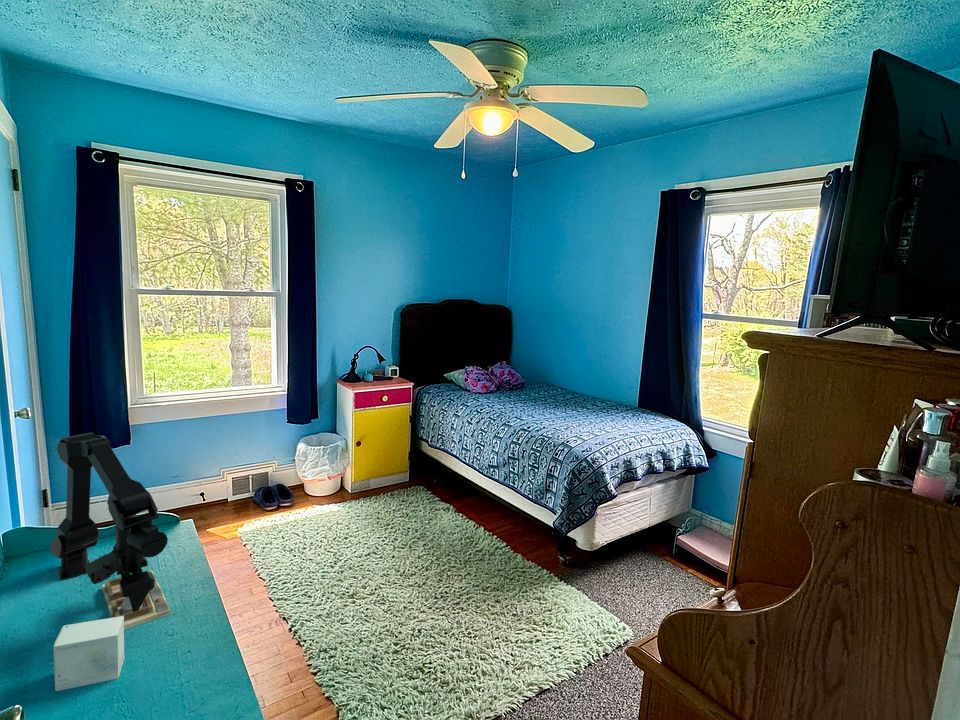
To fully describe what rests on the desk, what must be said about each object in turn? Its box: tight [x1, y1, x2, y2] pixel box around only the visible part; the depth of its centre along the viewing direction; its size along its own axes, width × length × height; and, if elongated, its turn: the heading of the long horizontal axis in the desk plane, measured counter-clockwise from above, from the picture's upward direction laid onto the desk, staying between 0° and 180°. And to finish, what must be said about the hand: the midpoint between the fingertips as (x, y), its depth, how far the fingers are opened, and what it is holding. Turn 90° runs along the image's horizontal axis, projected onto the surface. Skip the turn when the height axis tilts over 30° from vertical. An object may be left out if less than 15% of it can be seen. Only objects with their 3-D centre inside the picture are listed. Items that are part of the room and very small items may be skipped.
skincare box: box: [53, 616, 126, 692], centre depth 102 cm, size 10×6×10 cm, turn 115°
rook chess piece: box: [120, 597, 143, 614], centre depth 120 cm, size 4×4×8 cm
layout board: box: [101, 570, 171, 631], centre depth 125 cm, size 20×11×3 cm, turn 44°
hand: (131, 600), depth 120 cm, fingers open, 9 cm apart
